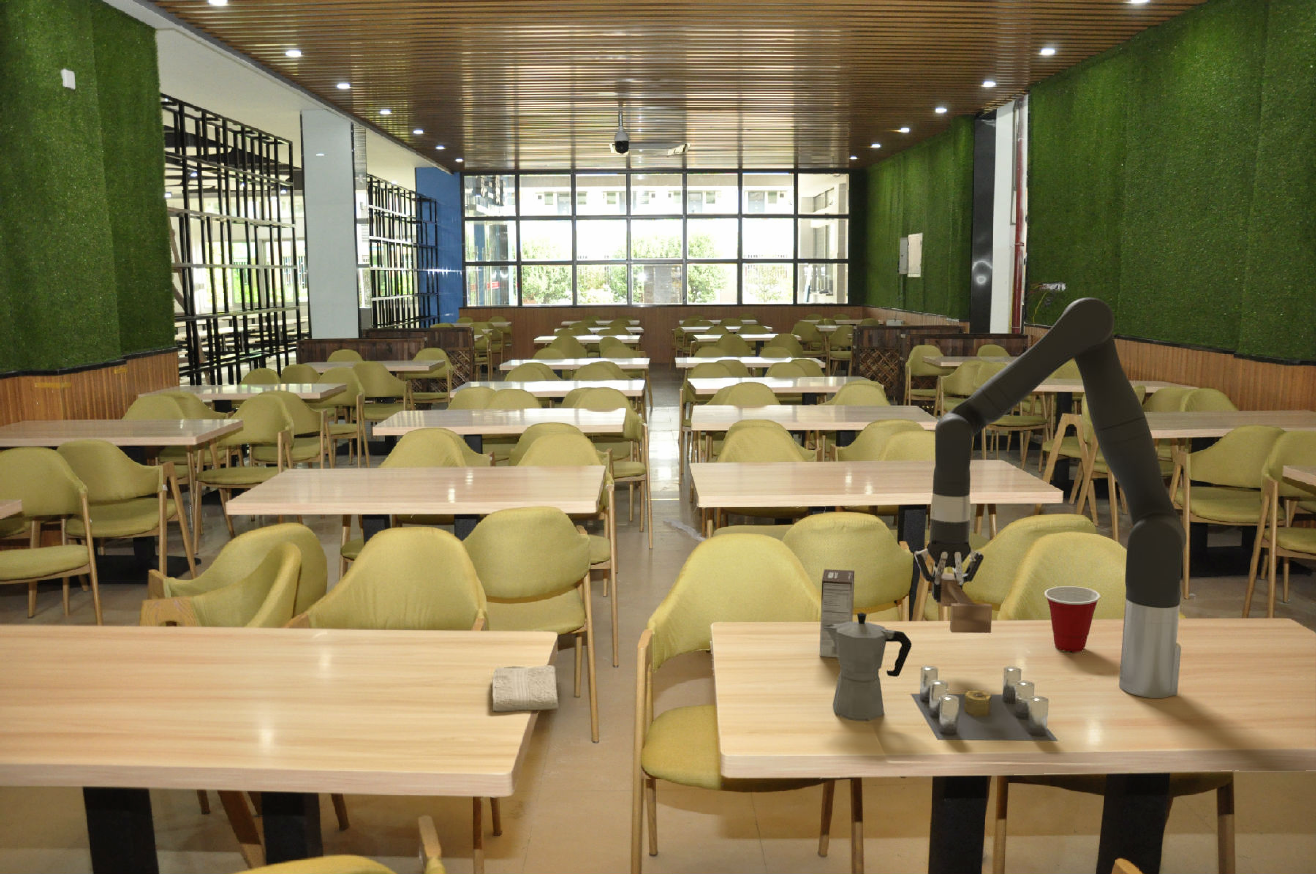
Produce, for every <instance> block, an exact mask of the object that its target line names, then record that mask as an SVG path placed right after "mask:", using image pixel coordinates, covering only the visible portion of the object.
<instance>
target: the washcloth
mask: <svg viewBox="0 0 1316 874" xmlns="http://www.w3.org/2000/svg"><path fill="white" fill-rule="evenodd" d="M556 672H557V671H556V666H554V665H549V664H547V665H540V666H539V665H538V666H532V667H529V666H527V667H526V666H521V665H520V666H518V665H511V666H504V667H503V666H502V667H499V666H498V667H497V668H495V670H494V672H493V675H492V686H491V687H492V711H493V712H498V713H499V712H500V713H501V712H502V713H503V712H514V711H542V710H543V711H546V710H555V709H558V708H559V701H558V699H559V698H558V690H557V684H558V683H557V677H556Z"/></svg>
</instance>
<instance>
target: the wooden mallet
mask: <svg viewBox="0 0 1316 874" xmlns="http://www.w3.org/2000/svg"><path fill="white" fill-rule="evenodd" d="M940 584H941V601H940V603H939V604H940V605H941V606H942V607H946V608H947V607H950V621H949V624H950V625H949V631H950V632H951V633H954V634H955V633H959V634H960V633H962V634H963V633H964V634H965V633H967V634H969V633H970V634H972V633H973V634H974V633H975V634H983V633H984V634H991V633H992V620H993V618H992V617H993V616H992V615H993V605H992V604H991V603H975V602H974V601H973V600H972V599H971V598H970V596H969V595H968V594H967V593H966V592H965V591H964V589H963V590H962V589H961V588H960V586H959V581H958V580H957V579H956V578H955V577H954V573H953V572H952V573H949V572H948V573H946V572H943V574H942V578H941V582H940Z"/></svg>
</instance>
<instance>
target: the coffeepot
mask: <svg viewBox="0 0 1316 874" xmlns="http://www.w3.org/2000/svg"><path fill="white" fill-rule="evenodd" d="M856 615H857V621H853V622H845V623H842V624H831V625H827V626H826V627H825V628H824V629H826V630H827V631H828V633H829V634H830V636H831V638H832V640H833V642H834V643H835V645H836V647H837V650H838V657H837V659H838V664H839V666H840V673H839V674H838V678H837V682H836V687H835V693H834V696H833V702H832V707H833V711H834V713H835V714H836V715H838V716H840V717H841V718H844V719H848V720H852V721H858V722H859V721H860V722H861V721H862V722H866V721H869V720H873V719H876V718H879V717H880V716H882V715H884V714H885V709H884V708H885V707H884V701H883V693H882V687H881V685H882V684H881V679H880V676H879V672H880V671H879V670H880V669H882V665H883V660H884V656H885V650H886V645H887V642H888V643H891V642H892V643H894V642H896V643H897V642H898V643H900V644H901V646H900V648H899V650H898V655H897V658H896V660H895V661H894V669H893V670H888V669H886V674H887V676H888V677H897V678H898V677H899V676H900V674H901V672H902V670H903V667H904V664H905V662H906V660H907V658H908V656H909V653H910V651H911V650H912V641H911V640H910V639H909V637H908V636H907V634H906V633H905V632H904V631H899V630H893V629H887V628H886V627H885V626H883V625H880V624H876V623H872V622H869V621H866V619H867V613H866V612H858V613H857V614H856Z"/></svg>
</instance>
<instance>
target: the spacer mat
mask: <svg viewBox="0 0 1316 874" xmlns="http://www.w3.org/2000/svg"><path fill="white" fill-rule="evenodd" d="M988 694H989V693H988ZM948 695H953V696H956V697H958V698H959V710H958V729H957V734H956V735H954V736H947V735H943V734H941V733H940V732H939V719H936V718H932V717H930V716H929V703H925V702H922V701H920V693H910V696H911V697H912V698H913V700H914V703H916V706H917V707H918V709H919V710H920V712H921V714H922V715H923V717H924V719H925V721H926V722H927V724H928V726H929V727H930V729H931V732H932V733H933V734H934V736H935V738H936V739H937V740H938V741H939V740H940V741H944V740H945V741H1014V742H1016V741H1021V742H1023V741H1025V742H1026V741H1027V742H1028V741H1029V742H1037V741H1038V742H1045V741H1046V742H1059V740H1058V739H1057V737H1055V735H1054V734H1053V733H1052V732H1051V730H1050V729H1049V728H1048V727H1047V733H1046V736H1043V737H1037V736H1033V735H1030V734H1029V733H1028V720H1023V719H1019V718H1016V717H1015V716H1014V714H1015V704H1008V703H1005V702H1003V701H1002V694H992V693H991V694H989V695H991V709H990V713H989V714H988V716H973V715H971V714H969V713H967V712H965V711H964V707H965V695H966V693H964V694H963V693H948Z"/></svg>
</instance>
